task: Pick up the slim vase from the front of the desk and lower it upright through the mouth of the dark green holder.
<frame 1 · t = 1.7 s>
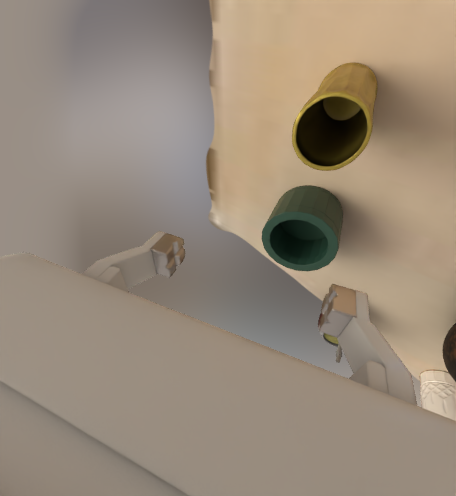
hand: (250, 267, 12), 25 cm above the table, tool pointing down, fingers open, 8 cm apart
holder: (307, 215, 37), on the table
white cup: (440, 378, 48), on the table
mate gourd: (341, 301, 46), on the table
vase: (344, 97, 26), on the table
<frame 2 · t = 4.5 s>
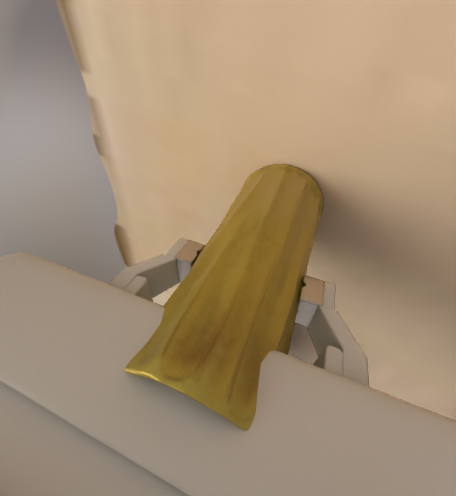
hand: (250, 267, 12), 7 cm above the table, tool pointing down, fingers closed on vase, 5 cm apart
vase: (280, 202, 18), on the table, touching gripper
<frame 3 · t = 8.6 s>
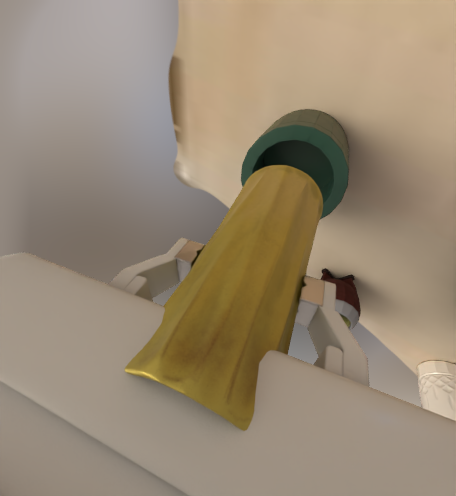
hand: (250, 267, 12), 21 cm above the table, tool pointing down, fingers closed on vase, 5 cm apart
holder: (301, 157, 28), on the table
white cup: (440, 369, 41), on the table
mate gourd: (334, 278, 38), on the table
vase: (280, 203, 18), point 14 cm above the table, touching gripper
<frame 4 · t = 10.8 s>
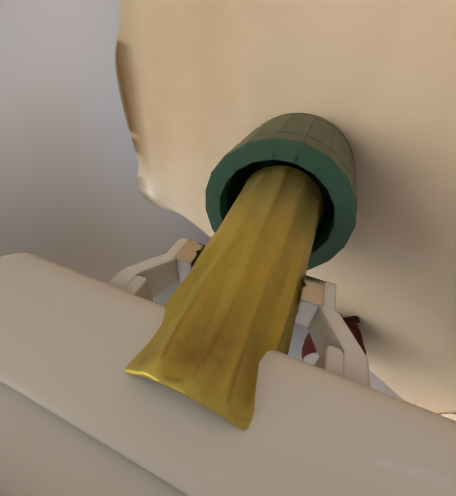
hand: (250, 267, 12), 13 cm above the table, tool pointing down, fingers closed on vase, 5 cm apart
holder: (290, 175, 21), on the table
mate gourd: (334, 318, 31), on the table
vase: (280, 203, 18), point 5 cm above the table, touching gripper
when the fingers open (8 cm above the table, at t = 12.7 s): vase stays where it is, resting on holder.
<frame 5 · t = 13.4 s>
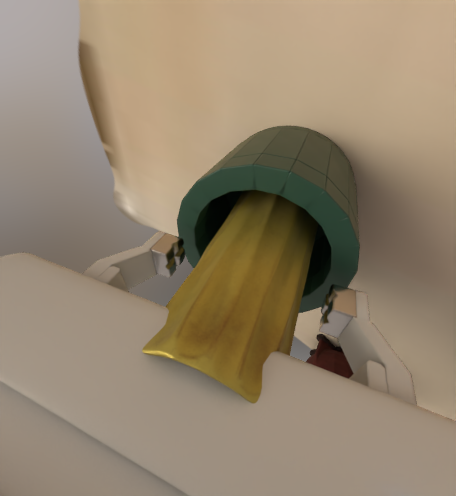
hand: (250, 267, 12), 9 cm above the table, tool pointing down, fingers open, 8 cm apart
holder: (282, 196, 18), on the table
mate gourd: (333, 346, 28), on the table
vase: (282, 199, 18), point 1 cm above the table, touching holder
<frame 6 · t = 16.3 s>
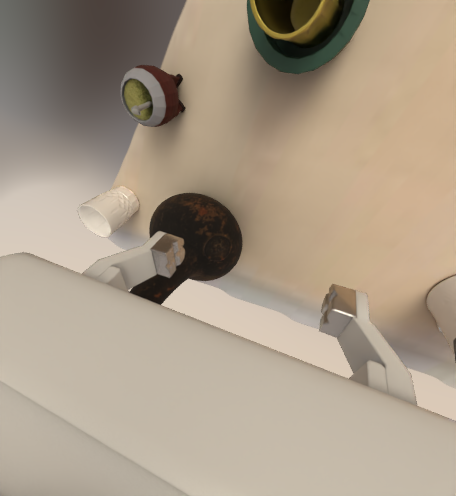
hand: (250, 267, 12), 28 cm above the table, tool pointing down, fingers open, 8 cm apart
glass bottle: (210, 220, 49), on the table
holder: (313, 8, 25), on the table
white cup: (127, 198, 54), on the table
mate gourd: (173, 91, 35), on the table
vase: (312, 10, 24), point 1 cm above the table, touching holder
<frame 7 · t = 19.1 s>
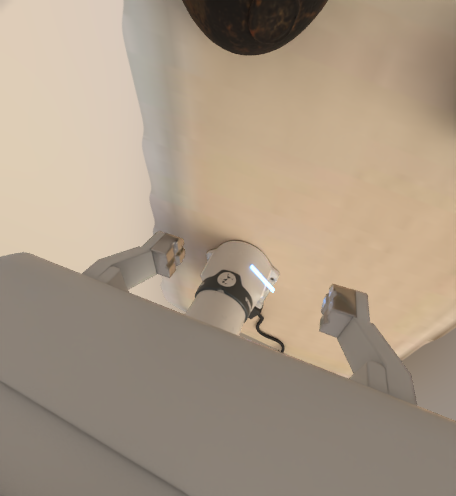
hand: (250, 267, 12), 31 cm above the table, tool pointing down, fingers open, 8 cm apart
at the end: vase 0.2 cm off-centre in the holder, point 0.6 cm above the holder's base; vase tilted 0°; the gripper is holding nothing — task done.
